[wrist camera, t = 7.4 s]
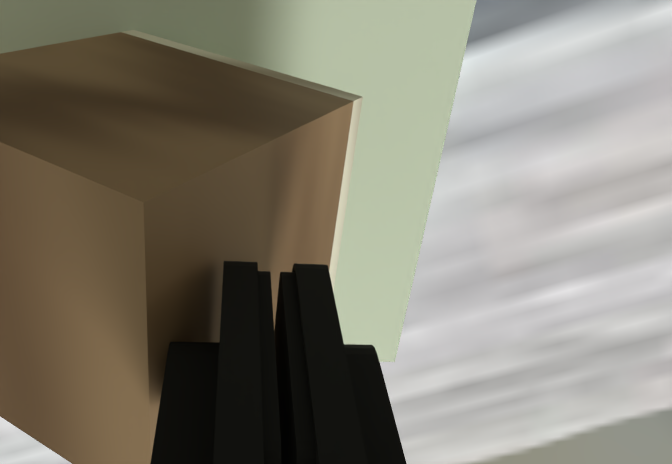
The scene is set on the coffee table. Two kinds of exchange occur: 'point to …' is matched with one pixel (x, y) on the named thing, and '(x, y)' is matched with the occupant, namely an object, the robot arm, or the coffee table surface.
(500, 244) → the coffee table surface
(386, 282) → the rubber mat
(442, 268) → the coffee table surface
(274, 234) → the walnut cube
